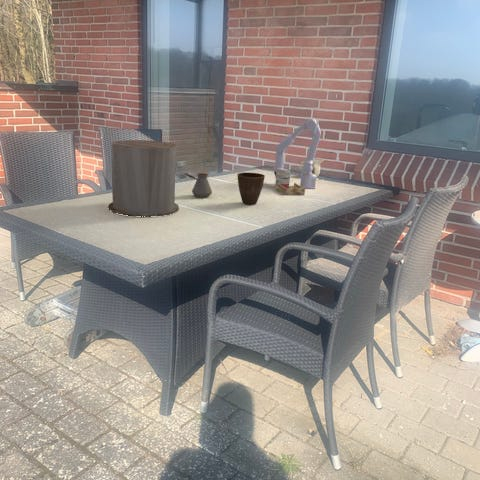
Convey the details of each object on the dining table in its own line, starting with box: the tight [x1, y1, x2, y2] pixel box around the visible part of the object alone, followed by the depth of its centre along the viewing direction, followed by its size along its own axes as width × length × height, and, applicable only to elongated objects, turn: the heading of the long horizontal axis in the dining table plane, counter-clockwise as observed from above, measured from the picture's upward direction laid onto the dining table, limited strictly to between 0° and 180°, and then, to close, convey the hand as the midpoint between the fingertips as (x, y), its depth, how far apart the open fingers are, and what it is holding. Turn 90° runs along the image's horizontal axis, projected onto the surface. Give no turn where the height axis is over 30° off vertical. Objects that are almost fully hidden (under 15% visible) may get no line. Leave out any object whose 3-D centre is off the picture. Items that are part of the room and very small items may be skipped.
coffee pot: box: [182, 172, 213, 199], centre depth 281 cm, size 21×12×15 cm, turn 144°
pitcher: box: [299, 158, 325, 179], centre depth 365 cm, size 11×18×14 cm, turn 64°
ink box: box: [274, 168, 291, 188], centre depth 325 cm, size 8×5×12 cm, turn 39°
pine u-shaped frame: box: [275, 182, 306, 196], centre depth 313 cm, size 13×17×4 cm
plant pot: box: [236, 172, 266, 206], centre depth 274 cm, size 15×15×16 cm
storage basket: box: [107, 139, 180, 218], centre depth 249 cm, size 35×35×32 cm
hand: (278, 182), depth 335 cm, fingers closed
